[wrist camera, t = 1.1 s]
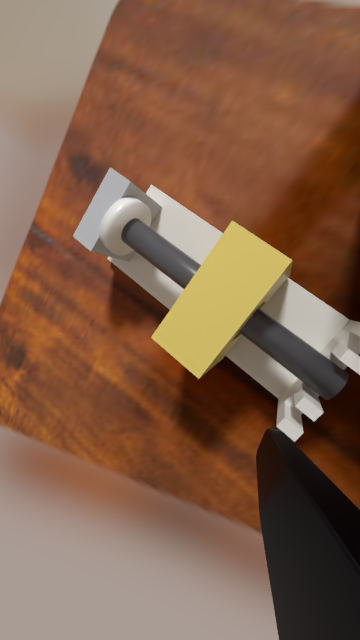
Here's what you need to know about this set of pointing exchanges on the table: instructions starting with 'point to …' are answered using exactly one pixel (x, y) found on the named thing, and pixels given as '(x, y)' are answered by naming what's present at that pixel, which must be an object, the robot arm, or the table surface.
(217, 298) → the yellow block
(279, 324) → the cord rig
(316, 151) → the table surface
